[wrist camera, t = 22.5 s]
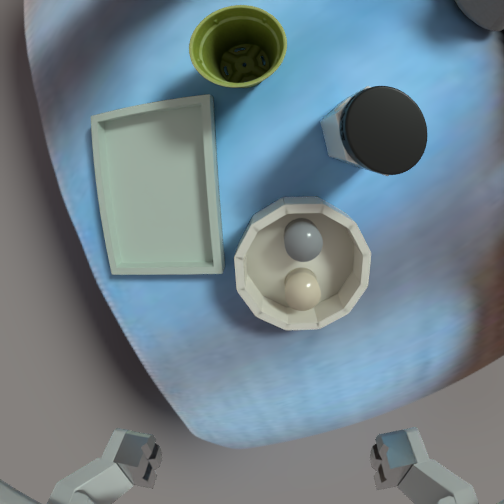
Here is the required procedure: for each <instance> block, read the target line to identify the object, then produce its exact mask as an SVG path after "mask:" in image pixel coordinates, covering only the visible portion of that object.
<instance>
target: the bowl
mask: <svg viewBox="0 0 504 504" xmlns="http://www.w3.org/2000/svg"><path fill="white" fill-rule="evenodd" d="M297 218H306V219H309V220H310V221H312V222H313V223H314V224H315V225H316V227H317V229H318V231H319V233H320V234H321V236H322V240H323V246H322V250H321V252H320V253H319V255H318V256H317V257H316V258H314V259H313V260H311V261H307V262H299V261H296V260H294V259H292V258H291V257H290V256H289V255H288V254H287V252H286V249H285V244H284V230H285V227H286V226H287V224H288V223H289V222H291V221H292V220H294V219H297ZM370 261H371V252H370V250H369V248H368V246H367V244H366V242H365V240H364V238H363V236H362V234H361V232H360V230H359V228H358V226H357V224H356V223H355V221H353V220H352V219H351V218H350V217H349V216H348V215H347V214H346V213H345V212H343V211H342V210H340V209H338V208H337V207H335V206H333V205H331V204H330V203H328V202H326V201H324V200H323V199H321V198H319V197H317V196H307V197H282V198H280V199H279V200H277V201H275V202H274V203H272V204H270V205H269V206H267V207H266V208H264V209H262V210H261V211H259V212H257V213H256V214H254V215H253V217H252V219H251V221H250V223H249V225H248V226H247V228H246V230H245V232H244V234H243V236H242V238H241V240H240V242H239V244H238V247H237V250H236V253H235V256H234V262H235V275H236V288H237V292H238V293H239V294H240V296H241V297H242V299H243V300H244V301H245V303H246V304H247V305H248V307H249V308H250V309H251V311H252V312H253V313H254V315H255V316H256V317H258V318H260V319H262V320H264V321H266V322H268V323H271V324H273V325H275V326H277V327H280V328H282V329H284V330H309V329H320V328H322V327H324V326H326V325H328V324H330V323H332V322H334V321H335V320H337V319H339V318H341V317H343V316H345V315H347V314H348V313H349V312H350V311H351V310H352V308H353V307H354V305H355V304H356V303H357V301H358V300H359V298H360V297H361V296H362V294H363V293H364V291H365V290H366V288H367V287H368V281H369V272H370ZM296 268H307V269H310V270H311V271H312V272H313V273H314V274H315V275H316V278H317V281H318V284H319V287H320V291H321V298H320V300H319V302H318V304H317V305H316V306H315V307H313V308H312V309H310V310H306V311H298V310H295V309H293V308H291V307H290V306H289V305H288V303H287V302H286V298H285V286H284V281H285V278H286V276H287V274H288V273H289V272H290V271H292V270H293V269H296Z"/></svg>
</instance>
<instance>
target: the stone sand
mask: <svg viewBox="0 0 504 504" xmlns="http://www.w3.org/2000/svg"><path fill="white" fill-rule="evenodd" d="M284 286H285V298H286V302H287V303H288V305H289V306H290V307H291V308H293V309H295V310H298V311H306V310H310V309H312V308H313V307H315V306H316V305H317V304H318V302H319V300H320V298H321V291H320V287H319V284H318V281H317V278H316V275H315V274H314V273H313V272H312V271H311V270H310V269H307V268H296V269H293V270H292V271H290V272H289V273H288V274H287V276H286V278H285V281H284Z"/></svg>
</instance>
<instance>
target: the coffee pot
mask: <svg viewBox="0 0 504 504" xmlns="http://www.w3.org/2000/svg"><path fill="white" fill-rule="evenodd" d="M455 2H456V4H457V5H458V7H459V8H460V10H461V11H462V12H463V13H464V14H465V15H466V16H467V17H468V18H469V19H471V20H472V21H473V22H475V23H476V24H477V25H479V26H481V27H483V28H484V29H488V30H491V31H501V30H503V29H504V0H455Z"/></svg>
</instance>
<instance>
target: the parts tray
mask: <svg viewBox="0 0 504 504" xmlns="http://www.w3.org/2000/svg"><path fill="white" fill-rule="evenodd" d="M91 129H92V145H93V157H94V167H95V177H96V185H97V193H98V201H99V208H100V214H101V220H102V226H103V232H104V238H105V243H106V248H107V253H108V258H109V263H110V268H111V272H112V275H165V274H223V271H224V268H225V258H224V246H223V234H222V222H221V209H220V195H219V181H218V167H217V151H216V135H215V117H214V98H213V97H212V96H211V95H210V94H207V95H199V96H191V97H184V98H177V99H170V100H164V101H158V102H152V103H147V104H142V105H137V106H132V107H127V108H123V109H118V110H114V111H110V112H105V113H101V114H97V115H94V116H91Z"/></svg>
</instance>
